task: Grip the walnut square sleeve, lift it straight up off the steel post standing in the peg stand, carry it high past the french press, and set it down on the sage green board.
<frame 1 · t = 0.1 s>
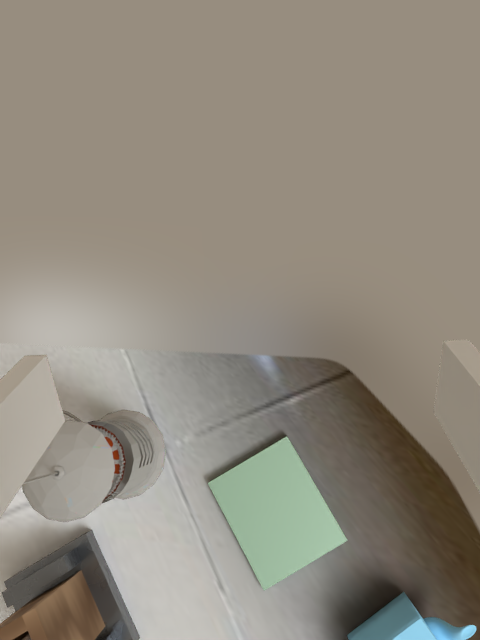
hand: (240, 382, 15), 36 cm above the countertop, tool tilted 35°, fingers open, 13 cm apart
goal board: (275, 509, 47), on the countertop
peg stand: (74, 606, 47), on the countertop
french press: (118, 448, 50), on the countertop
sleeve: (68, 612, 46), point 1 cm above the countertop, touching peg stand
teapot: (399, 630, 44), on the countertop
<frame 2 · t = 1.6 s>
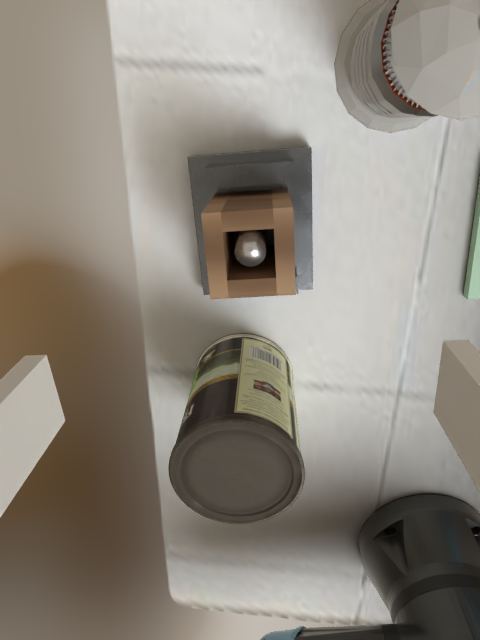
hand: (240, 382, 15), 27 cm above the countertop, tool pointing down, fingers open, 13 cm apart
peg stand: (254, 223, 39), on the countertop
french press: (395, 50, 33), on the countertop
sleeve: (253, 226, 38), point 1 cm above the countertop, touching peg stand
coffee can: (244, 376, 46), on the countertop
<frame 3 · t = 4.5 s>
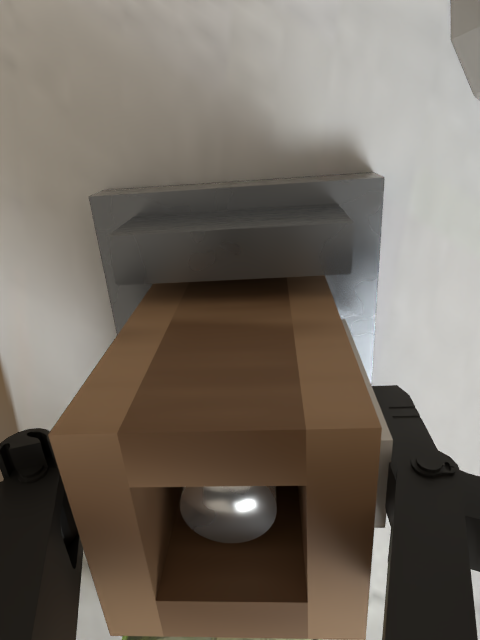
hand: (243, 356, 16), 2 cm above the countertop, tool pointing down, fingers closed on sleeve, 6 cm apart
peg stand: (245, 328, 19), on the countertop
sleeve: (244, 345, 17), point 2 cm above the countertop, touching gripper, peg stand
coffee can: (229, 575, 26), on the countertop
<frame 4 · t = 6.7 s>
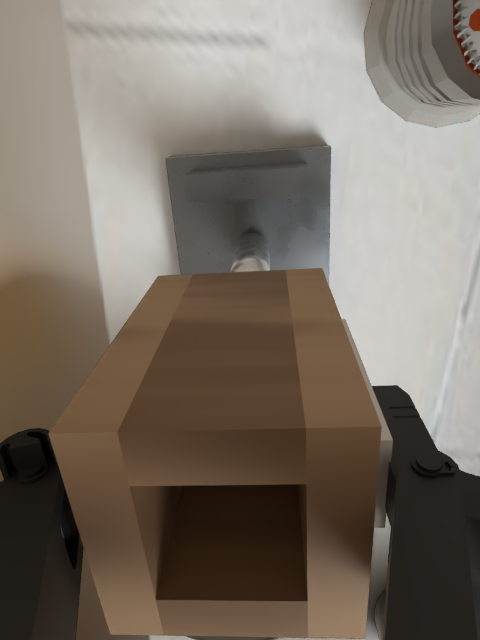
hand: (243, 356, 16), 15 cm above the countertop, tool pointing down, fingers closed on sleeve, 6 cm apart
peg stand: (253, 243, 30), on the countertop
french press: (447, 15, 24), on the countertop
sleeve: (244, 344, 17), point 15 cm above the countertop, touching gripper
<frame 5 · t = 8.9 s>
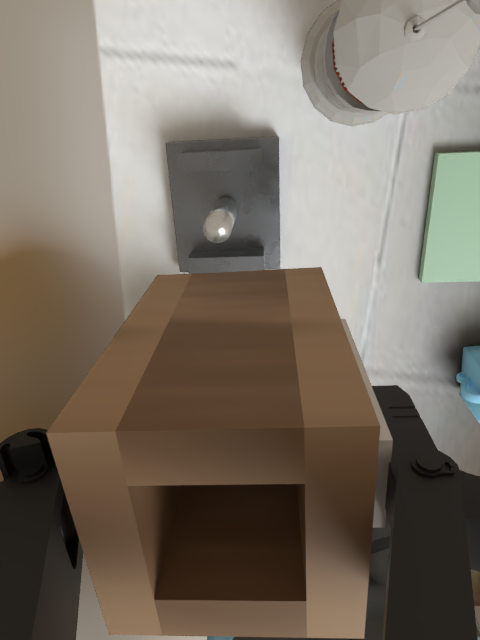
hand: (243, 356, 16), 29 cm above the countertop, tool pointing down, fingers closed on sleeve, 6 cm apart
peg stand: (227, 206, 42), on the countertop
french press: (356, 51, 37), on the countertop
sleeve: (243, 344, 17), point 28 cm above the countertop, touching gripper
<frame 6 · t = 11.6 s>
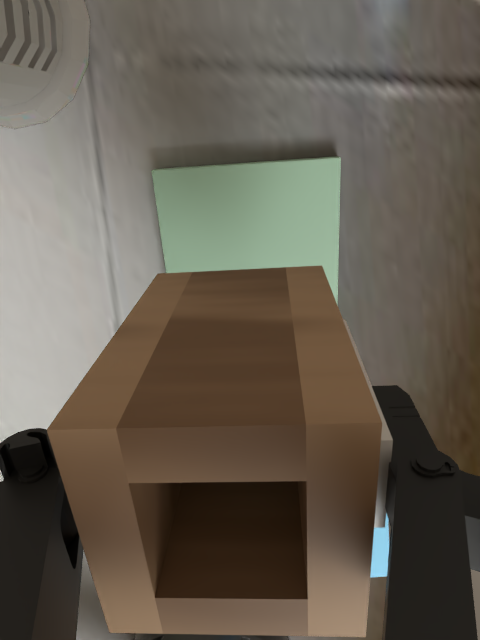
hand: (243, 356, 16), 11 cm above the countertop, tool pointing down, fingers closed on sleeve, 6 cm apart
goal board: (251, 267, 26), on the countertop
sleeve: (244, 342, 17), point 10 cm above the countertop, touching gripper
teapot: (330, 467, 33), on the countertop
when the fingers open (3 cm above the countertop, at t = 13.7 s): sleeve drops 1 cm, resting on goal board.
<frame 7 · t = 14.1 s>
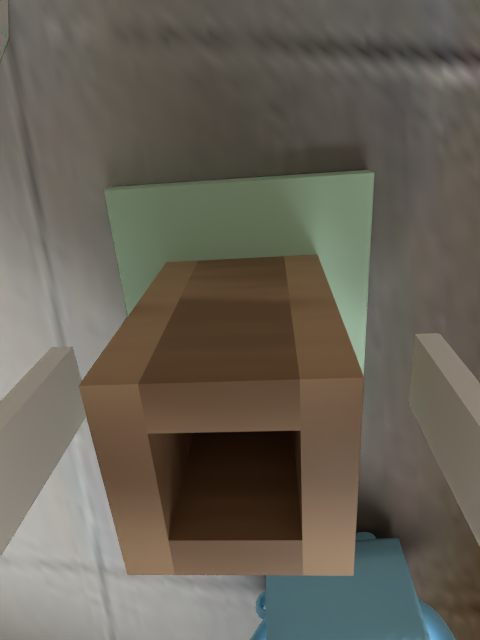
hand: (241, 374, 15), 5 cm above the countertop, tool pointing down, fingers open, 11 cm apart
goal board: (247, 319, 19), on the countertop
sleeve: (245, 326, 19), point 1 cm above the countertop, touching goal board
teapot: (348, 559, 26), on the countertop
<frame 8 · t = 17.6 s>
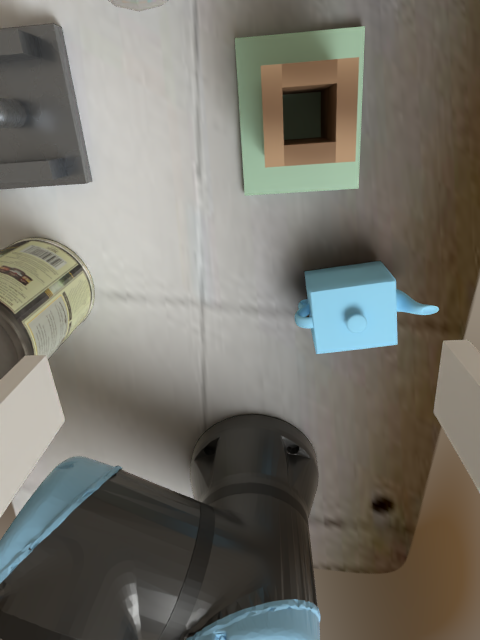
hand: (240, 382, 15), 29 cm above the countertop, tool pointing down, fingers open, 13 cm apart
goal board: (299, 117, 37), on the countertop
peg stand: (22, 113, 38), on the countertop
sleeve: (299, 116, 36), point 1 cm above the countertop, touching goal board
coffee can: (47, 286, 45), on the countertop
teapot: (351, 290, 44), on the countertop
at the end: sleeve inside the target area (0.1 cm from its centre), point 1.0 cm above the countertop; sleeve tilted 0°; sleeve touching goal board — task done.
